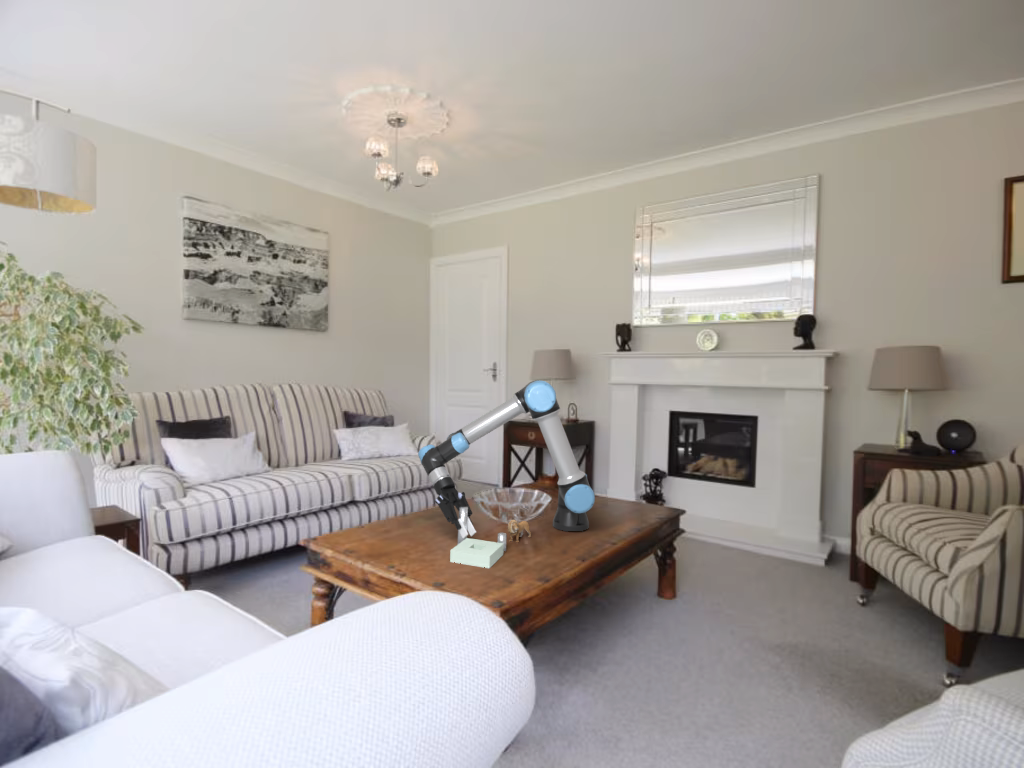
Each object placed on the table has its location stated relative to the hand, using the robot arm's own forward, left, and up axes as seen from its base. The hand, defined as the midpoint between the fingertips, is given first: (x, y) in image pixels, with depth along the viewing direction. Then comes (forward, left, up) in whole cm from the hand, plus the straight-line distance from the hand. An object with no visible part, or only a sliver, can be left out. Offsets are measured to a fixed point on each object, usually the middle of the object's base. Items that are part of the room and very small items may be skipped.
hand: (469, 535), depth 192 cm
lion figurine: (-14, -16, -5) cm, 22 cm away
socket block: (-7, +8, -5) cm, 12 cm away
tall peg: (+3, -2, -5) cm, 6 cm away
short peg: (-12, -3, -5) cm, 13 cm away
